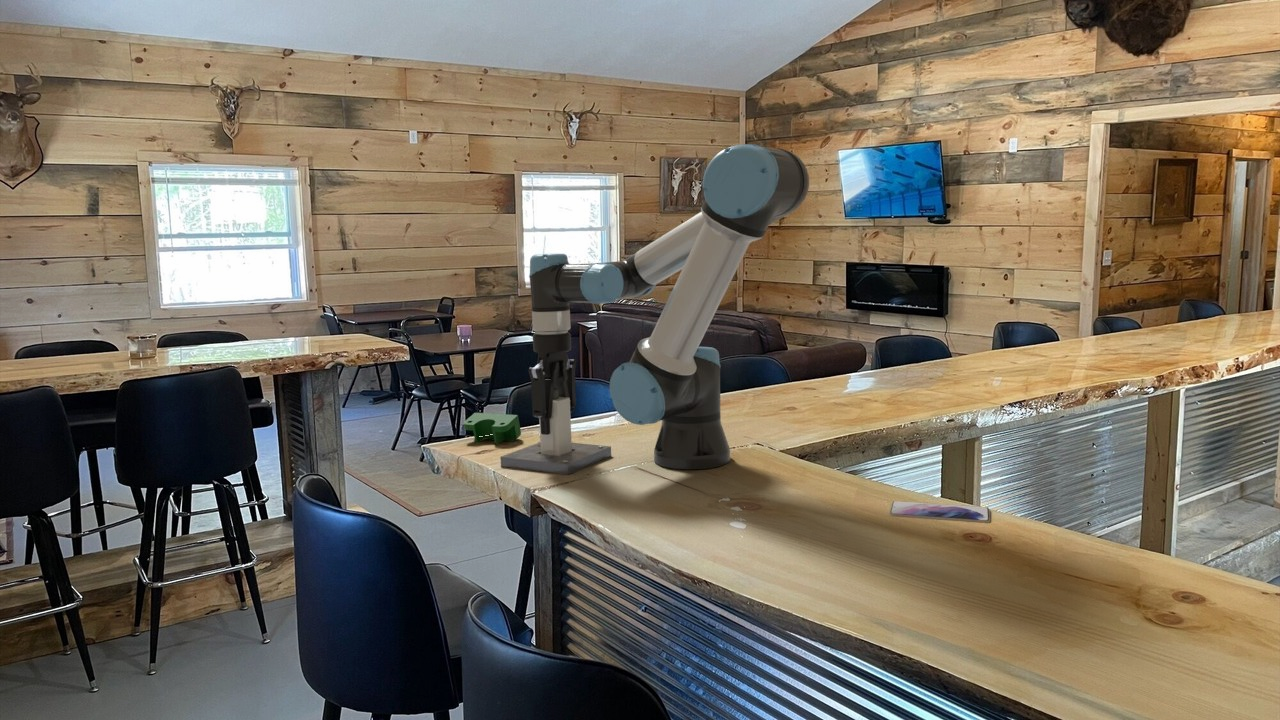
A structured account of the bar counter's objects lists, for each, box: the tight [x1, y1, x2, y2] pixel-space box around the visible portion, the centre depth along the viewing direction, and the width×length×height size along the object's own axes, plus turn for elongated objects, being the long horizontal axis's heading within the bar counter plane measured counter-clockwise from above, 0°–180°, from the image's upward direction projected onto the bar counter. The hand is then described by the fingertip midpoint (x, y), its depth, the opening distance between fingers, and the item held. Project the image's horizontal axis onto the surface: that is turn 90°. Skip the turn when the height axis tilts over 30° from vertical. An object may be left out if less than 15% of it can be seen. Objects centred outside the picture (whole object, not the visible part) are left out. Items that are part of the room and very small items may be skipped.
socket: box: [500, 441, 612, 476], centre depth 187 cm, size 16×16×3 cm
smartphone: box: [888, 500, 991, 524], centre depth 147 cm, size 7×1×15 cm
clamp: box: [463, 412, 522, 445], centre depth 207 cm, size 12×6×9 cm, turn 61°
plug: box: [538, 388, 573, 456], centre depth 186 cm, size 4×4×13 cm
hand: (556, 446), depth 187 cm, fingers closed on plug, 4 cm apart
